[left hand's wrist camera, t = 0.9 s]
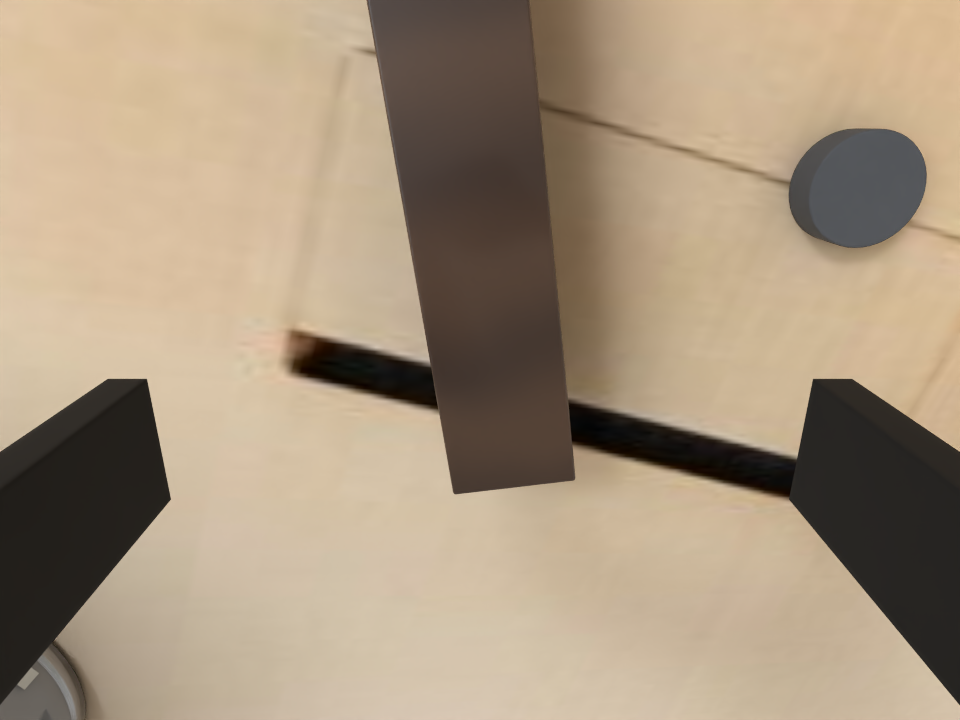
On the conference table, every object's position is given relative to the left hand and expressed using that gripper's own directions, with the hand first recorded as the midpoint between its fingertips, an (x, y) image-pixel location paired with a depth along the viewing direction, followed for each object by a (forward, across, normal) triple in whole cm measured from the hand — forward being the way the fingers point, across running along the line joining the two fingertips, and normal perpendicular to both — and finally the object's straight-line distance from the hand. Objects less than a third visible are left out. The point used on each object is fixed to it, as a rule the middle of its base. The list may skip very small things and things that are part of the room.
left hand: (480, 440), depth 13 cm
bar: (+19, 0, -4) cm, 19 cm away
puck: (+19, -17, -3) cm, 25 cm away
